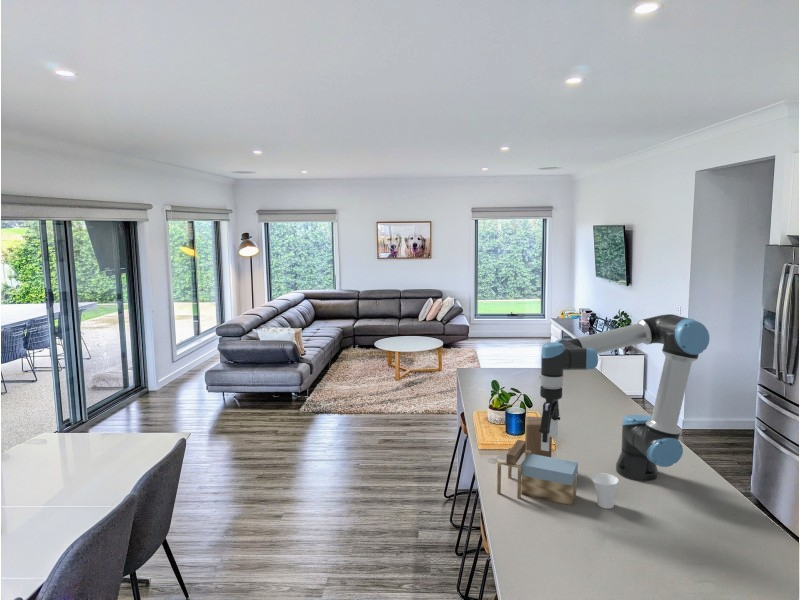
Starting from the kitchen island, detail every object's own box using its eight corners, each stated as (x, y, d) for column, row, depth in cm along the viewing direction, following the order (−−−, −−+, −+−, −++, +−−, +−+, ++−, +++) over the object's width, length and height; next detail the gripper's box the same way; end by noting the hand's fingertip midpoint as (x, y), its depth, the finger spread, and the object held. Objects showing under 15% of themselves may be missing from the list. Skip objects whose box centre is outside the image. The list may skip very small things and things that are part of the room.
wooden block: (551, 474, 213) (552, 425, 211) (525, 472, 215) (526, 424, 213) (549, 463, 223) (550, 416, 220) (524, 461, 225) (525, 415, 222)
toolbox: (577, 491, 200) (578, 459, 198) (570, 509, 186) (571, 476, 185) (508, 476, 212) (509, 447, 210) (497, 493, 198) (497, 461, 197)
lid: (577, 472, 197) (577, 462, 196) (571, 485, 187) (572, 474, 187) (528, 463, 205) (528, 453, 205) (520, 475, 195) (520, 464, 195)
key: (525, 449, 207) (525, 441, 207) (514, 465, 194) (514, 455, 193) (517, 448, 208) (517, 439, 208) (506, 463, 195) (506, 454, 195)
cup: (617, 500, 193) (618, 473, 191) (618, 513, 184) (619, 485, 183) (590, 496, 195) (591, 470, 194) (590, 509, 187) (592, 481, 185)
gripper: (548, 376, 204) (546, 430, 207) (532, 394, 183) (530, 454, 185) (568, 379, 201) (566, 433, 204) (554, 397, 179) (552, 458, 182)
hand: (549, 443), depth 195 cm, fingers open, 13 cm apart
